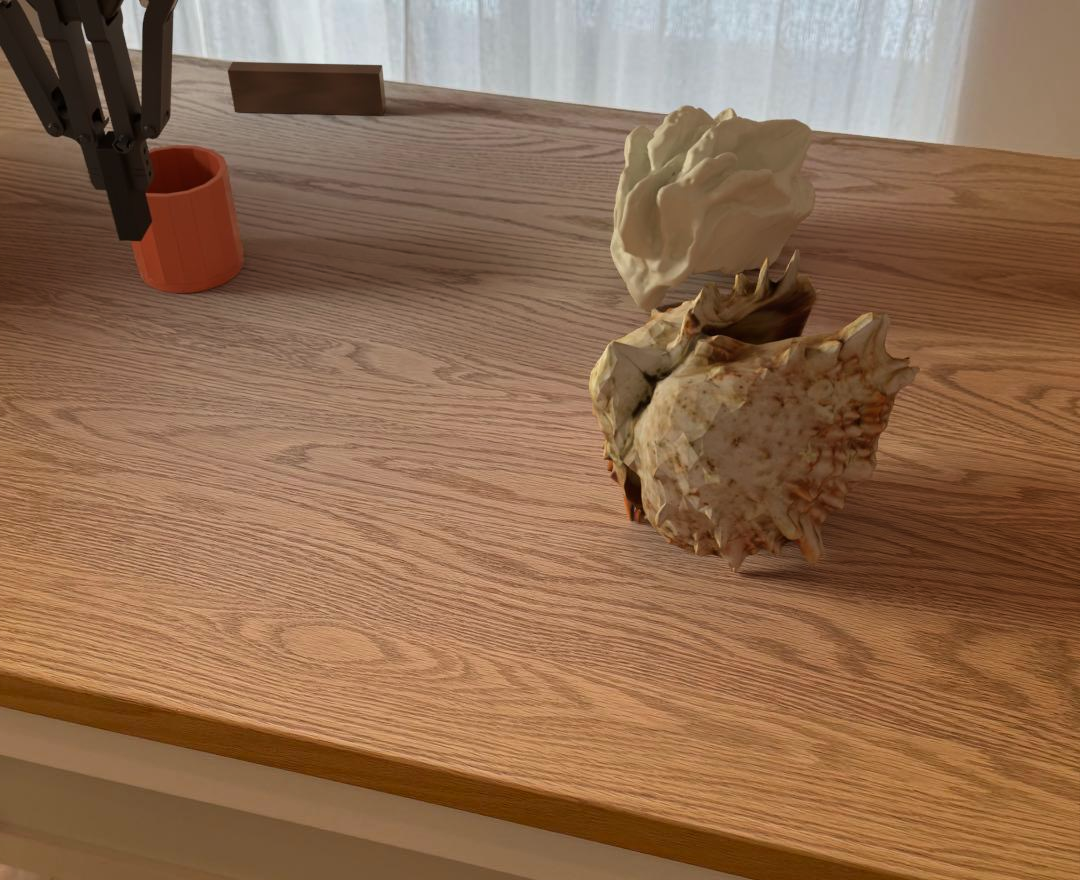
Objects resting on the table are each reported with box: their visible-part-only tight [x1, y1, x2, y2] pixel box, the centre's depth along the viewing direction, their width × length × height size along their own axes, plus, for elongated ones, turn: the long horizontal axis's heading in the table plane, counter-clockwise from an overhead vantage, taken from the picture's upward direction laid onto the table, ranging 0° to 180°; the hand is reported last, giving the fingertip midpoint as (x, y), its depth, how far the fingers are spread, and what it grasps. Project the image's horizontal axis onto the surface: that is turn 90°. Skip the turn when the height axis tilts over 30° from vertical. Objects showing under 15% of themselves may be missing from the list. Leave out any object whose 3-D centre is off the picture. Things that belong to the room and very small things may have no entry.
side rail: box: [227, 61, 387, 116], centre depth 115 cm, size 14×2×4 cm, turn 87°
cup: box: [130, 144, 245, 294], centre depth 94 cm, size 8×8×8 cm
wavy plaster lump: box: [609, 104, 817, 312], centre depth 92 cm, size 18×13×16 cm
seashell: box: [588, 248, 921, 573], centre depth 70 cm, size 18×18×15 cm
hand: (136, 230), depth 85 cm, fingers closed
